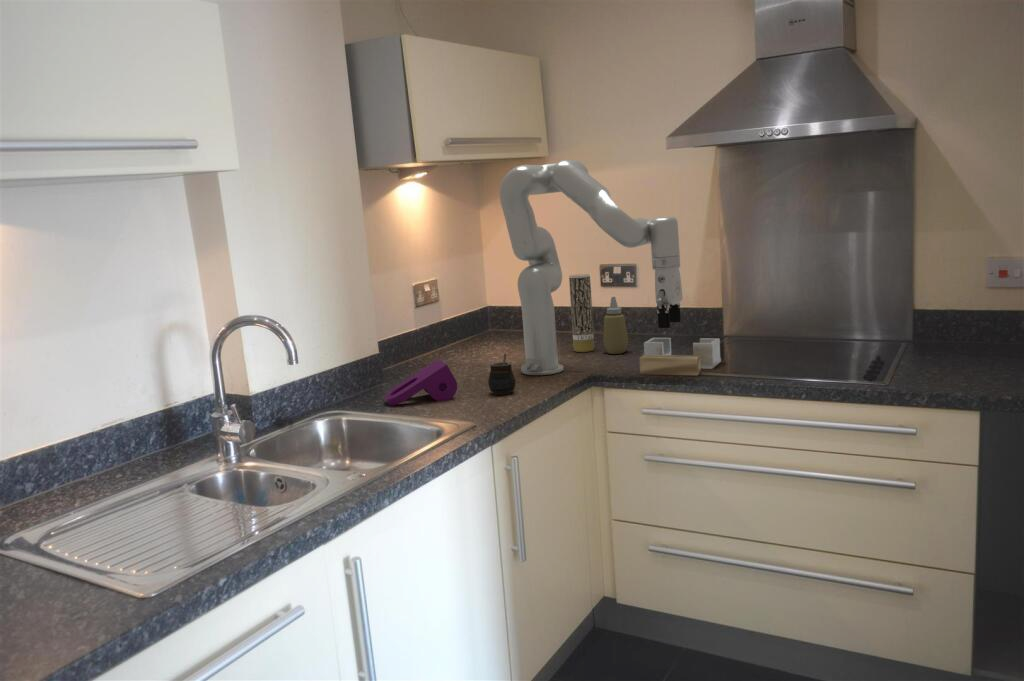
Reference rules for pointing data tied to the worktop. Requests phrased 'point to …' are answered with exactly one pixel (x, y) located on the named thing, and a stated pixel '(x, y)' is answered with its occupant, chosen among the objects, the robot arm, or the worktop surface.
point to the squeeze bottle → (615, 330)
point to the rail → (670, 364)
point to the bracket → (705, 349)
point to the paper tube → (581, 312)
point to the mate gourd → (501, 378)
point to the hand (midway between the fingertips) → (669, 324)
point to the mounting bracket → (426, 384)
